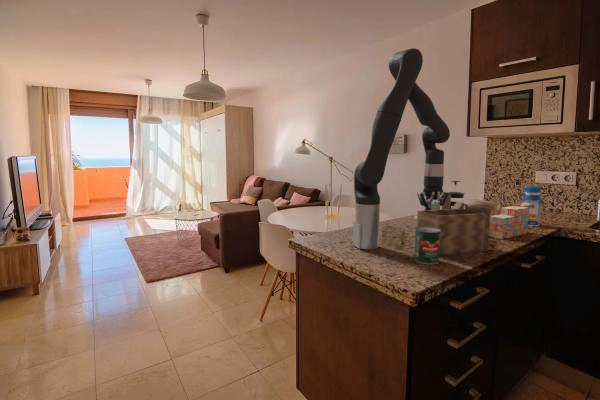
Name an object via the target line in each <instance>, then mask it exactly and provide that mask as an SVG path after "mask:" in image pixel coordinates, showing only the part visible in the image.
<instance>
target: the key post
mask: <svg viewBox="0 0 600 400" xmlns="http://www.w3.org/2000/svg"><path fill="white" fill-rule="evenodd" d="M466 210H471V211H475V212H480V213H485V214H486V218H485V231H484V245H483V252H485V251H488V247H489V225H490V216H491V211H492V210H491V209H485V208H480V207H475V206H470V205H468V206H466Z"/></svg>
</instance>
